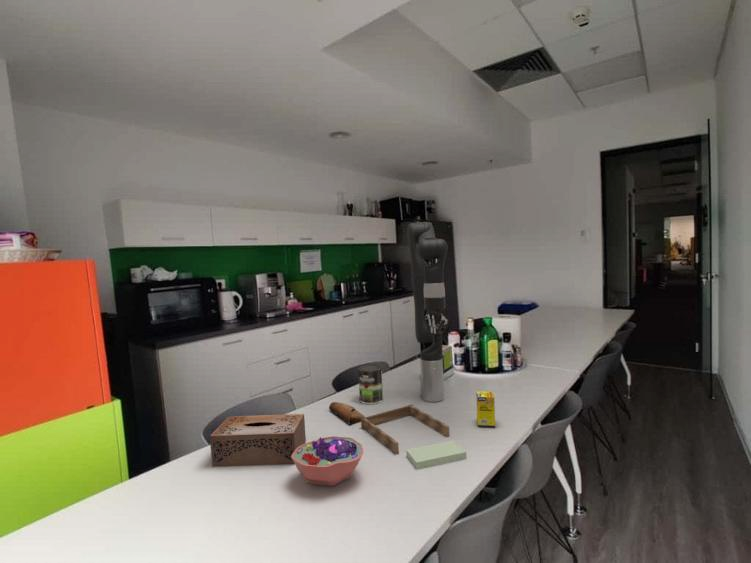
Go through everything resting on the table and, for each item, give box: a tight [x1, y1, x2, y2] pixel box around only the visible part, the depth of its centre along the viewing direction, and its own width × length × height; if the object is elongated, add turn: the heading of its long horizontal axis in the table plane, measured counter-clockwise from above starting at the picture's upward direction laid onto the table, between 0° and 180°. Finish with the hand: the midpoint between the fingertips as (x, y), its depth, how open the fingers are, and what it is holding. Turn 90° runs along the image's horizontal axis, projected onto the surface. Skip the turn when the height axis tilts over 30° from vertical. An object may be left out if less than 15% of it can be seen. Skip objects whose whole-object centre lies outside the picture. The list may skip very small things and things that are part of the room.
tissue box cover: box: [209, 413, 307, 468], centre depth 127 cm, size 26×14×10 cm, turn 88°
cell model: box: [291, 436, 365, 487], centre depth 111 cm, size 17×20×11 cm
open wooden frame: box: [360, 404, 450, 455], centre depth 138 cm, size 23×22×4 cm
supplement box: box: [475, 390, 496, 429], centre depth 140 cm, size 6×6×11 cm
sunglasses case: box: [328, 401, 366, 426], centre depth 154 cm, size 18×7×7 cm, turn 32°
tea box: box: [442, 344, 454, 382], centre depth 195 cm, size 15×10×15 cm
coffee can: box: [357, 364, 384, 405], centre depth 169 cm, size 10×10×14 cm
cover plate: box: [405, 440, 467, 470], centre depth 120 cm, size 8×16×2 cm, turn 107°
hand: (436, 343), depth 142 cm, fingers closed
